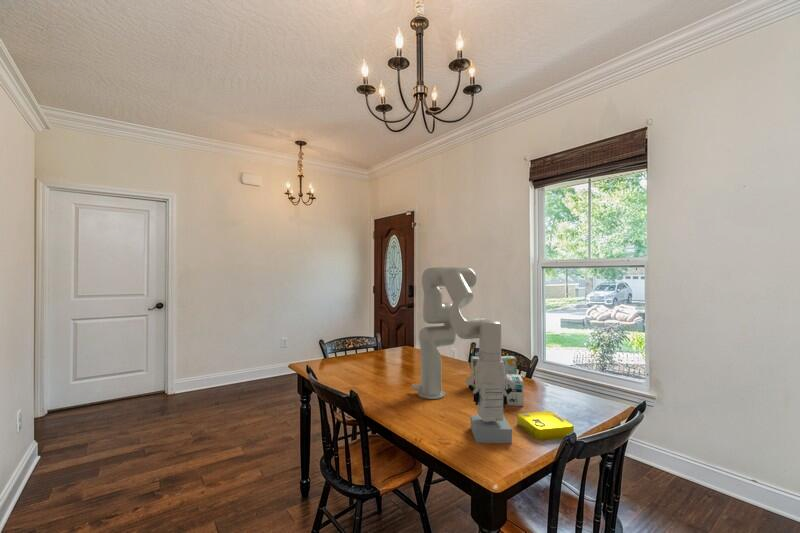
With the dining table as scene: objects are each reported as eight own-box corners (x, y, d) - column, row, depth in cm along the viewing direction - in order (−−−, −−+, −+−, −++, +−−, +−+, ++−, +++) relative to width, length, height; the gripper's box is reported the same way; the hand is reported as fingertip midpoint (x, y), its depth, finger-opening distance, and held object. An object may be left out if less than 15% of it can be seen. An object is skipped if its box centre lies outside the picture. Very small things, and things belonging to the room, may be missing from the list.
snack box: (513, 385, 192) (513, 355, 192) (516, 389, 186) (516, 358, 186) (470, 386, 191) (470, 355, 191) (473, 389, 185) (473, 358, 185)
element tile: (576, 438, 134) (576, 424, 134) (537, 442, 131) (537, 428, 131) (550, 421, 148) (550, 409, 148) (515, 424, 145) (515, 412, 145)
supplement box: (476, 413, 139) (476, 378, 139) (496, 413, 140) (496, 378, 139) (482, 422, 132) (482, 385, 131) (503, 421, 132) (504, 384, 132)
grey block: (476, 443, 130) (476, 428, 130) (470, 428, 142) (470, 415, 141) (512, 444, 129) (512, 429, 129) (503, 429, 141) (503, 415, 141)
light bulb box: (524, 406, 163) (524, 381, 163) (507, 405, 164) (507, 380, 164) (521, 398, 173) (521, 374, 173) (505, 397, 175) (505, 373, 175)
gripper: (464, 357, 134) (464, 406, 134) (516, 360, 130) (516, 411, 130) (466, 352, 141) (465, 399, 141) (515, 355, 137) (515, 403, 137)
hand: (490, 405), depth 135 cm, fingers closed on supplement box, 8 cm apart
